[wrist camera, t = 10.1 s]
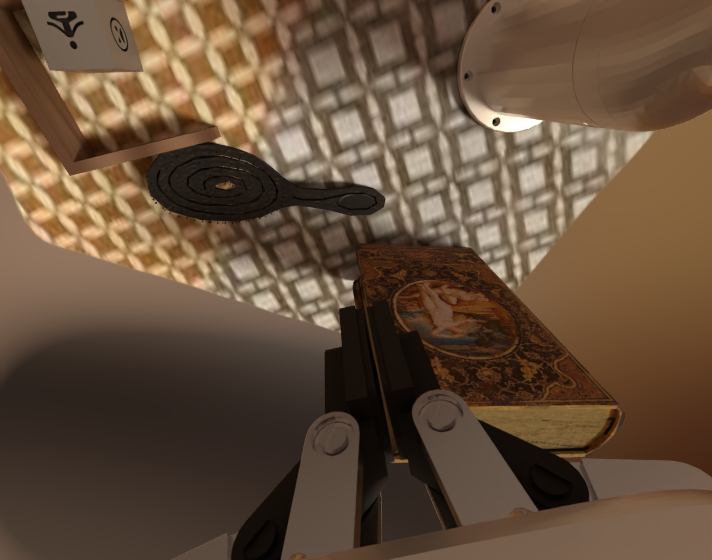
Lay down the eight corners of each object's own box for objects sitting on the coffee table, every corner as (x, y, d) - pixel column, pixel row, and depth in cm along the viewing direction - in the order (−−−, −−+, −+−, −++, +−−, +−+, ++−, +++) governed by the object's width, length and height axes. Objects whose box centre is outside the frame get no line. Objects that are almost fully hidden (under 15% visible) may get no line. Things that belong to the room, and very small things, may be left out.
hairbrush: (382, 242, 39) (149, 225, 35) (376, 230, 42) (162, 214, 38) (395, 169, 35) (135, 140, 31) (388, 163, 38) (150, 135, 34)
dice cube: (123, 3, 29) (88, -13, 24) (143, 71, 31) (114, 68, 27) (63, 4, 29) (16, -12, 24) (88, 73, 31) (49, 70, 27)
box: (151, -43, 27) (129, -60, 24) (220, 136, 34) (211, 140, 31) (-9, -1, 28) (-50, -12, 25) (92, 168, 35) (69, 175, 32)
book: (480, 248, 43) (637, 404, 22) (469, 284, 46) (600, 456, 24) (354, 242, 42) (389, 407, 20) (351, 281, 44) (379, 463, 22)
